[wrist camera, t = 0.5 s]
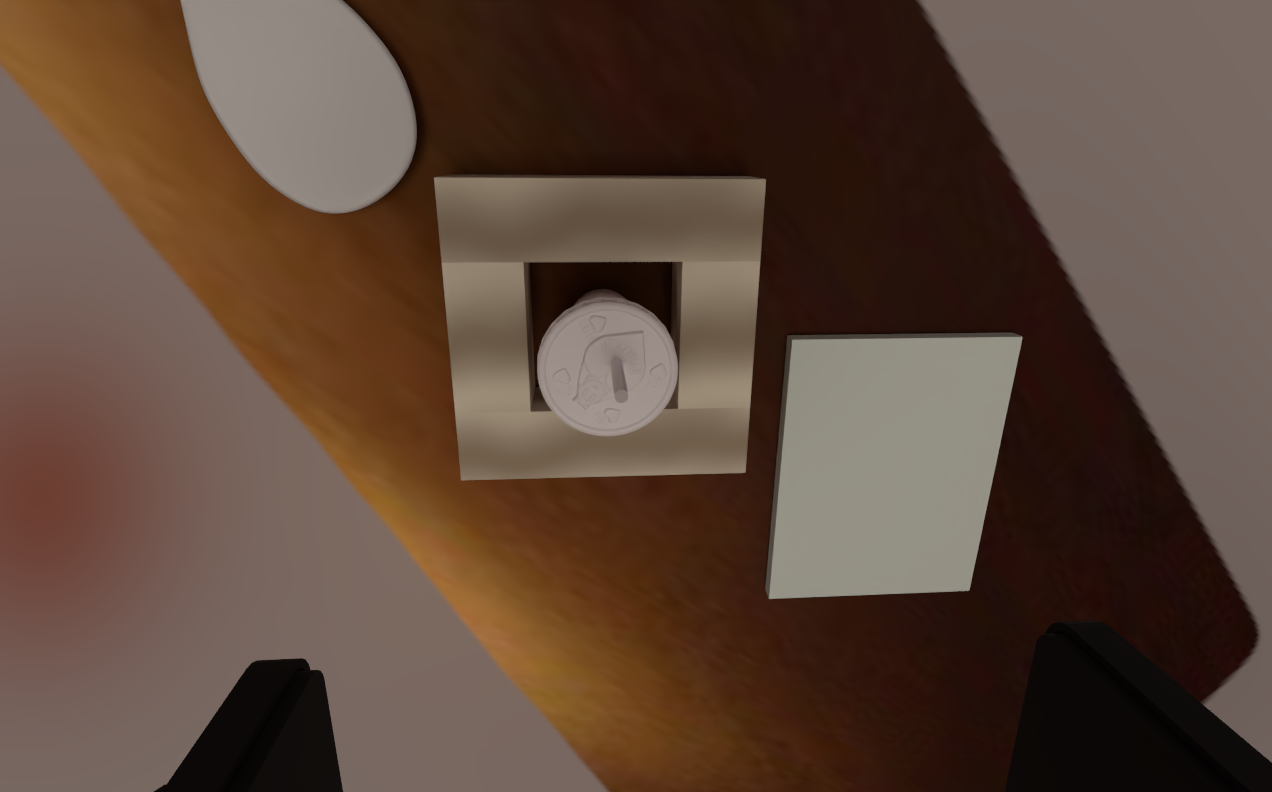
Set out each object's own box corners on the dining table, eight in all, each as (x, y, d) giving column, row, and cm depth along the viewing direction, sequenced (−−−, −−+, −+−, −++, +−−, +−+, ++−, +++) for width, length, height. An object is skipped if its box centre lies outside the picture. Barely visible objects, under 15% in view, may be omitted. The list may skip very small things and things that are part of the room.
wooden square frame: (449, 174, 36) (433, 177, 32) (747, 176, 37) (765, 179, 33) (472, 450, 41) (461, 480, 38) (731, 443, 42) (745, 472, 39)
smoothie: (679, 313, 39) (728, 395, 26) (609, 394, 41) (622, 510, 28) (594, 241, 38) (600, 291, 24) (523, 328, 39) (493, 419, 26)
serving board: (787, 335, 40) (792, 339, 39) (1012, 332, 41) (1022, 336, 40) (765, 589, 46) (768, 598, 46) (961, 581, 48) (969, 590, 47)
